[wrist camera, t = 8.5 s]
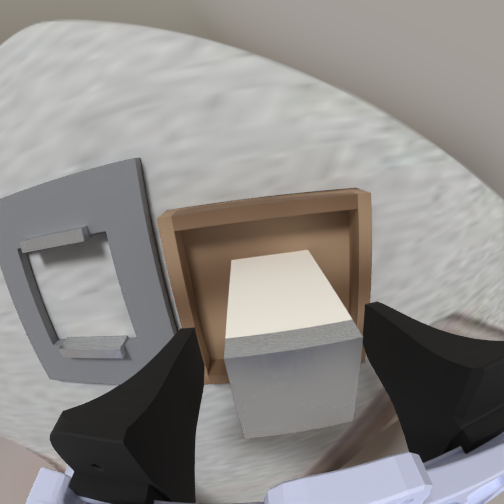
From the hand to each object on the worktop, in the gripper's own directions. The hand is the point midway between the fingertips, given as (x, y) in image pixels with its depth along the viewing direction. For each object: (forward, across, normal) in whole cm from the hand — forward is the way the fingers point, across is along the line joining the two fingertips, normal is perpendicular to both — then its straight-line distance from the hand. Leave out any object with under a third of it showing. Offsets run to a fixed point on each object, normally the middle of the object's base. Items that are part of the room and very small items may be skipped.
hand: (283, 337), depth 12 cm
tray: (+5, 0, 0) cm, 5 cm away
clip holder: (+5, +12, -1) cm, 13 cm away
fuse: (+4, 0, 0) cm, 4 cm away
